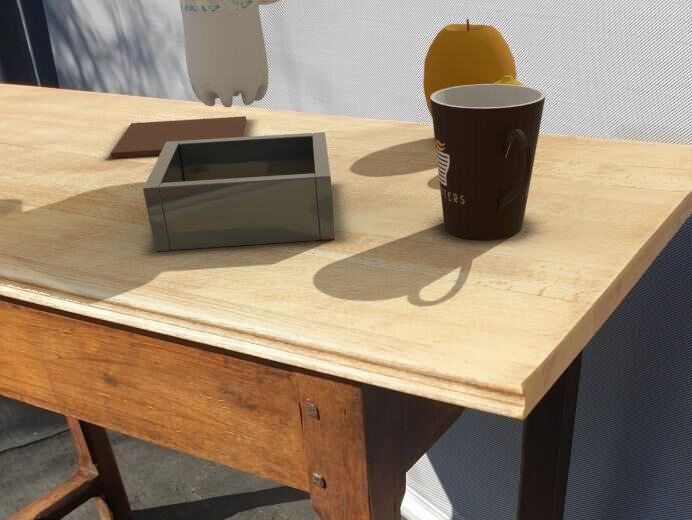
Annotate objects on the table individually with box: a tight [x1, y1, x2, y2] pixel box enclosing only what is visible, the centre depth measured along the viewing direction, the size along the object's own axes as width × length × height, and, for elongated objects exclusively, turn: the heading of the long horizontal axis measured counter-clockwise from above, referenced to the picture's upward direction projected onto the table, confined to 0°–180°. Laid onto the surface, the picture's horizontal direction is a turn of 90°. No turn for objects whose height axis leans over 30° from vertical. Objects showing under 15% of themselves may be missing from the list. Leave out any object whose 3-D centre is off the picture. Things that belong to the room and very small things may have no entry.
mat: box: [110, 115, 247, 159], centre depth 96 cm, size 14×14×1 cm
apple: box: [422, 18, 518, 117], centre depth 88 cm, size 10×10×12 cm
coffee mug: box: [430, 84, 546, 241], centre depth 64 cm, size 12×9×10 cm
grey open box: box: [142, 131, 336, 252], centre depth 71 cm, size 14×14×5 cm
